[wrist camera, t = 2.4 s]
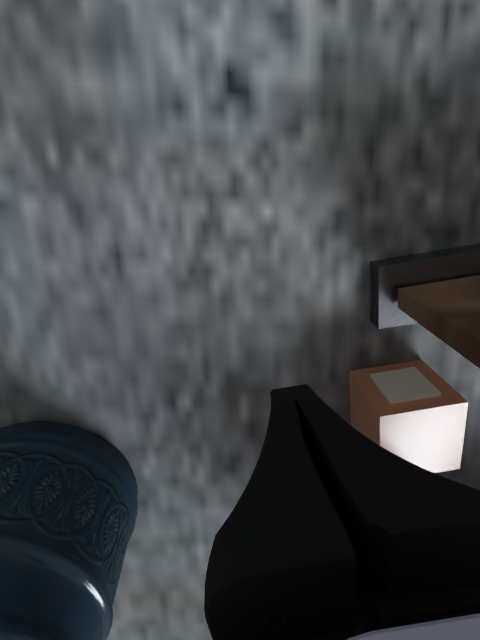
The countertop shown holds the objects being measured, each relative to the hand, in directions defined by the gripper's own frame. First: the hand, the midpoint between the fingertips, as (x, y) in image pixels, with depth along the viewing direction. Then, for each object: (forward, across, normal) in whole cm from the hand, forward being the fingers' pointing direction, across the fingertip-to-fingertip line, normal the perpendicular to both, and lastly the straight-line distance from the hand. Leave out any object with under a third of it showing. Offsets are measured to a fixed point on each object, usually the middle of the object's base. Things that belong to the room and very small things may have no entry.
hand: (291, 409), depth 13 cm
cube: (+10, -8, +8) cm, 15 cm away
